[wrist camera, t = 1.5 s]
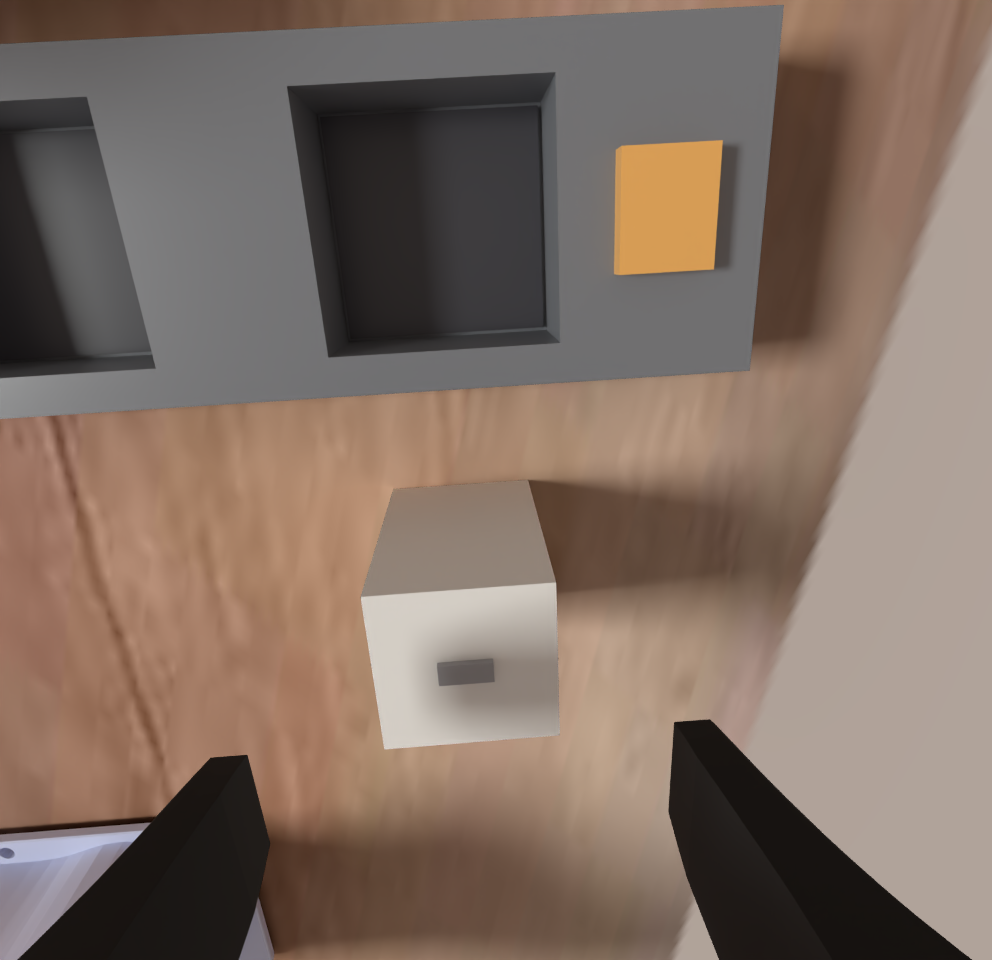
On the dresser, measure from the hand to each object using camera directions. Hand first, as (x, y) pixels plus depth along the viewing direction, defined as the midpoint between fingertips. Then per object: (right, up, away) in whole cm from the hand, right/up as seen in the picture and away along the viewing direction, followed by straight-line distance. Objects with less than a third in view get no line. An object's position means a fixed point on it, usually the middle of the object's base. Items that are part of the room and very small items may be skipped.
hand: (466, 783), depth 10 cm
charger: (0, +3, +8) cm, 9 cm away
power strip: (-4, +11, +5) cm, 13 cm away
